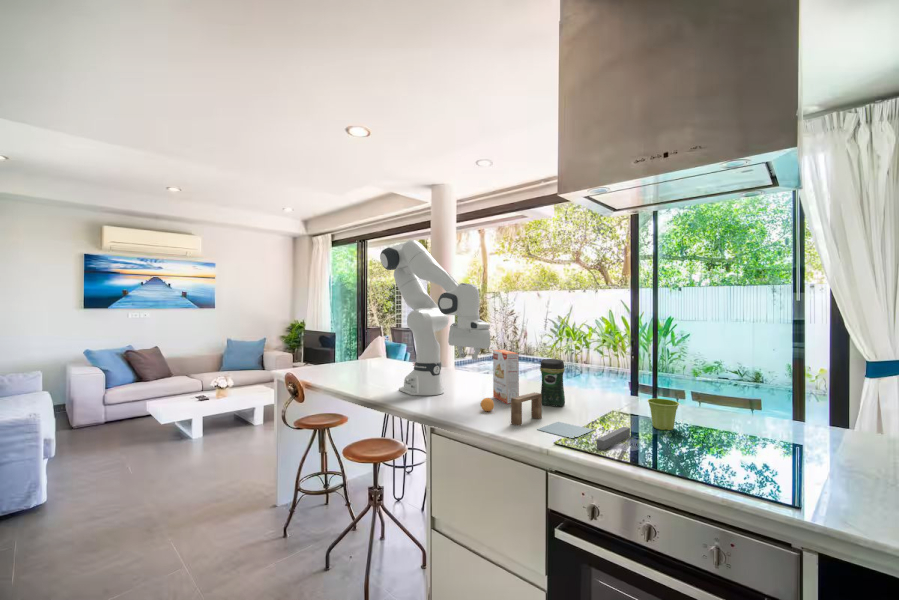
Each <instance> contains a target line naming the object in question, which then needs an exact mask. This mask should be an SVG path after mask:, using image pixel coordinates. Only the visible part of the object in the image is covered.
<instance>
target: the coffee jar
mask: <svg viewBox="0 0 899 600" xmlns="http://www.w3.org/2000/svg"><path fill="white" fill-rule="evenodd" d="M539 367H540V368H539V370H540V373H541V387H540V393H541V394H542V406H547V405H548V406H547V407H564V406H565V403H566V398H565V388H564V373H565V371H566V368H565V362H564V360H563V359H559V358H557V359H556V358H544V359H541V361H540V366H539Z"/></svg>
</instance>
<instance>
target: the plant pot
mask: <svg viewBox="0 0 899 600" xmlns="http://www.w3.org/2000/svg"><path fill="white" fill-rule="evenodd" d="M647 402H648V406H649V408H650V415H651V423H652V427H654V428H655V429H656V430H661V431H665V430H668V431H672V430H674V428H675V423H676V421H675V420H676V414H677V410H678V407H679V406H680V402H678V401H676V400H673V399H665V398H649V399H647Z"/></svg>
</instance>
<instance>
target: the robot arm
mask: <svg viewBox="0 0 899 600" xmlns="http://www.w3.org/2000/svg"><path fill="white" fill-rule="evenodd" d="M379 257H380V263H381V265H382V267H383V268H384V269H385V270H387V271H393V278H394V281H395V283H396V287H397V288H398V290H399V293H400V294H401V296H402V298H403V300H404V302H405V303H406V305H407V306H408V307H409V308H410V309H412V311H410V312H409V313H408V314H407V317H406V325H407V327H408V328H409V330H411V332H412V335H413V337H414V341H415V349H416V350H415V351H416V352H415V353H416V356H415V358H416V361H415V362H413V363H412V366H413V370H412V371H411V372H410V373H408V374H407V375H406V376H405V377H404V379H403V380H404V381H403V386H401V387H398V391H400V392H403V393H405V394H408V395H410V396H436V395H437V396H438V395H442V394H443V393H444V390H445V389H444V387H443V376H442V372H441V370H442V362H441V344H440V342H438V340H437V338H436V332H439V331H441V330H443V329H446V327H447V326H448V324H449V320H450V319H449V316H457V322H456V323H455V322H453V323H451V325H450V326H449V331H448V339H447V342H448V345H449V346H452V347H456V348H457V351H458V354H459V355H458V357H459V358H462V359H464V358H466V353H465V352H464V350H463V349H464V347H465V348H471V349H472V348H473V351H474V352H473V354H471V359H472V360H478V358H479V353H480V351H481V349H483V350H485V349H489V348H490V346H491V332H490V330H489V329H490V323H489V322H487V321H484V320H482V319H480V312H479V309H480V305H481V304H480V303H481V302H480V301H481V300H480V291H479V290H480V289H479V287H478V286H477V285H475V284H472V283H466V282H463V283H458V281H456V279H454V278H453V276H452V275H451V274H450V273H449V272H448V271H446V270H445V268H443V267H442V266H441V265H440V263H439V262H438V261H436V259H435V258H434V257H433V256H432V254H431V253H430V252H429V251H428V249H427V248H426V247H425V246H424V245H423V243H421V241H417V240H416V239H409V240H408V241H406V242H403V243H399V244H396V245H392V246H391V247H390V246H389V247H386V248H384V249H382V250H381V252H380V255H379ZM421 280H422V281H427V282H430V283H434V284H436V285H438V286H440V287H441V288H442V289H443V290H444V292H443V293H441V294H440V295H439V297H438V300H437V303H436V302H435V301H434V299H433V298H432V297H431V296H430V295H429V293H428V292H427V290H426V288H425V287H424V284H423V283H422V281H421Z"/></svg>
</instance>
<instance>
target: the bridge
mask: <svg viewBox="0 0 899 600" xmlns="http://www.w3.org/2000/svg"><path fill="white" fill-rule="evenodd" d="M528 401H531V402H530V403H531V407H530V408H531V415H530V416H531V418H532V417H533V418H534V419H537V420H539V419H542V417H543V416H542V411H543V409H542V408H543V407H542V406H543V404H542V394H541V392H534V391H533V392H531V393H527V394H522V395H519V396H518V397H514V398H511V404H510V424H511V423H512V424H511V425H514V424H515V425H514V426H518V425H519V426H521V424H523V409H522V408H523V402H528ZM533 418H532V419H533Z"/></svg>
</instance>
